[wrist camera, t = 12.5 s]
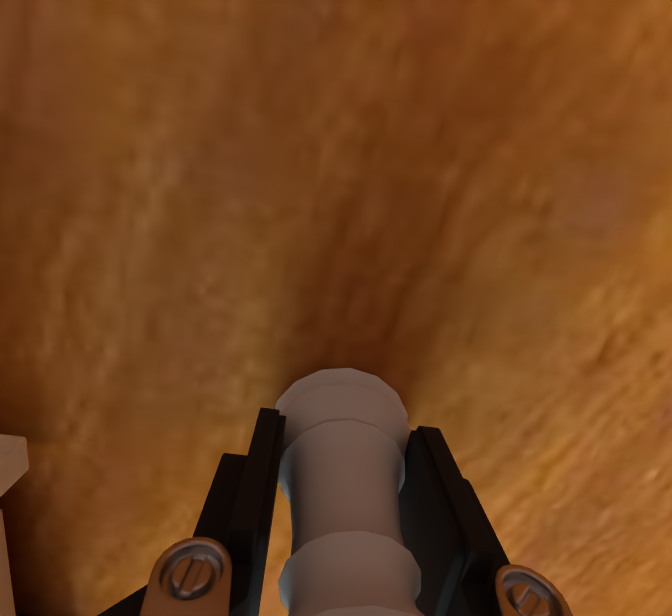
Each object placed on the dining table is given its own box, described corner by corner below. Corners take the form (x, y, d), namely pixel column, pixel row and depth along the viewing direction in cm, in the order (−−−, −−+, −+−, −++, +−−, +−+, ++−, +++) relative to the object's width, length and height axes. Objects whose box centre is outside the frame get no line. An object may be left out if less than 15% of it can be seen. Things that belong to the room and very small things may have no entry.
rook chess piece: (360, 495, 14) (408, 875, 6) (247, 443, 13) (143, 808, 5) (432, 399, 13) (595, 719, 5) (313, 336, 12) (298, 606, 4)
